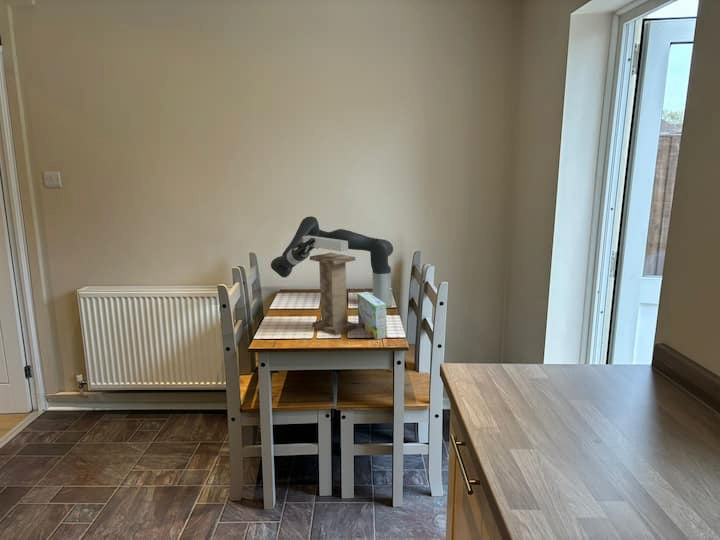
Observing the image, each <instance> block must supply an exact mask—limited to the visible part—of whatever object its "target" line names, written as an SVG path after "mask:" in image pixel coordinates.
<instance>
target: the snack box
mask: <svg viewBox="0 0 720 540" xmlns="http://www.w3.org/2000/svg"><path fill="white" fill-rule="evenodd" d="M356 297H357V298H356V299H357V318H358V322H357V323H358V325H359V327H360V328H361V329H363V330H364V331H365V332H367V333H368V334H369V335H370V336H371V337H372V338H373V340H375V341H377V340H378V341H379V340H383V339H387V338H388V333H387V332H388V328H387V326H388V324H387V322H388V320H387V307H386V304H385V303H383V302H382V301H380V300H379V299H377V298H376V297H374V296H373V294H371V293H370V292H369V291H365V292H357V293H356Z"/></svg>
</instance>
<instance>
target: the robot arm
mask: <svg viewBox="0 0 720 540" xmlns="http://www.w3.org/2000/svg"><path fill="white" fill-rule="evenodd" d="M309 235H310V236H317V237H324V238H331V239H338V240H345V241H348V250H354V251H366V252H370V267H371V269H372V295H373V296H374V297H376V298H377V299H379V300H380V301H382V302H383V303H385V304H386V308H387V307H392V301H393V300H392V298H393V297H392V295H393V294H392V292H393V291H392V286H391V285H392V274H391V273H392V267H391V266H390V265H389V257H390V256H392V254H393V252H394V246H393V244H392V243H391V242H390V241H389V240H387V239H382V238H381V239H380V238H377V237H369V236H366V235H364V234H360V233H357V232H354V231H350V230H347V229H343V228H337V229H335V230H333V231H326V230H322V229H321V228H320V225H319V221H318V219H317V218H316V217H314V216H306V217H305V218H303V219H302V220H301V222H300V223H299V227H298V229H297V230H296V232H295V235H294V236H293V238H292V240H291V241H290V243H289V244H288V246H287V247H286V248H285V250H284V251H283V253H282V254H281V255H280V256H277V257H275V258H274V259H272V261H271V262H270V267H271V270H273V271H274V272H275V273H276V274H278V275H279V276H280V277H281V278H284V279H285V278H287V277H289V276H290V275H291V273H292V272H293V268H294V267H295V266H296V267H297V265H299V264H300V263H302V262H303V261H304V260H306V259H307V258H308V257H310V253H311V252H312V251H313V250H314V249H317V250H318V249H319V248H316V247H310V245H311V244H313V243H314V242H315V241H314V238H311V239H309V240H308V241H305V242H302V236H309Z"/></svg>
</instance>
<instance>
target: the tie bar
mask: <svg viewBox="0 0 720 540" xmlns="http://www.w3.org/2000/svg"><path fill="white" fill-rule="evenodd" d="M311 238H314V241H315V242H314V243H313V244H311V245H310V247H316V248H318V249H323V250H330V251H336V252H339V253H341V252H347V251H349V249H348V241H345V240H338V239H331V238H324V237H317V236H310V235H309V236H302V242H305V241H308V240H309V239H311ZM316 248H315V249H316Z"/></svg>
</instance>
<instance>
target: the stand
mask: <svg viewBox="0 0 720 540" xmlns="http://www.w3.org/2000/svg"><path fill="white" fill-rule="evenodd" d="M309 261H313V262H318V263H319V264H318V265H319V266H318V267H319V290H320V291H319V292H320V314H321V315H320V316H321V317H320V320H317V321H313V322H311V323H312V325H311V326H312V327H313V328H315V329H317V330H320V331H324V332H327V333H329V334H332V335H334V336H338V335H340V334H345V333H347V332H349V331H352V330H356V329H357V327H358V326H357V325H358V324H357V323H355V322H351V321H349V320H348V312H347V311H348V308H347V306H348V305H347V275H346V274H347V271H346V268H347V267H346V263H350V262H354V261H355V262H356V257H355V256H353V255H352V256H351V255H346V254H339V253H335V252H327V253H320V254H315V255H311V256H310V255H309Z"/></svg>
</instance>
